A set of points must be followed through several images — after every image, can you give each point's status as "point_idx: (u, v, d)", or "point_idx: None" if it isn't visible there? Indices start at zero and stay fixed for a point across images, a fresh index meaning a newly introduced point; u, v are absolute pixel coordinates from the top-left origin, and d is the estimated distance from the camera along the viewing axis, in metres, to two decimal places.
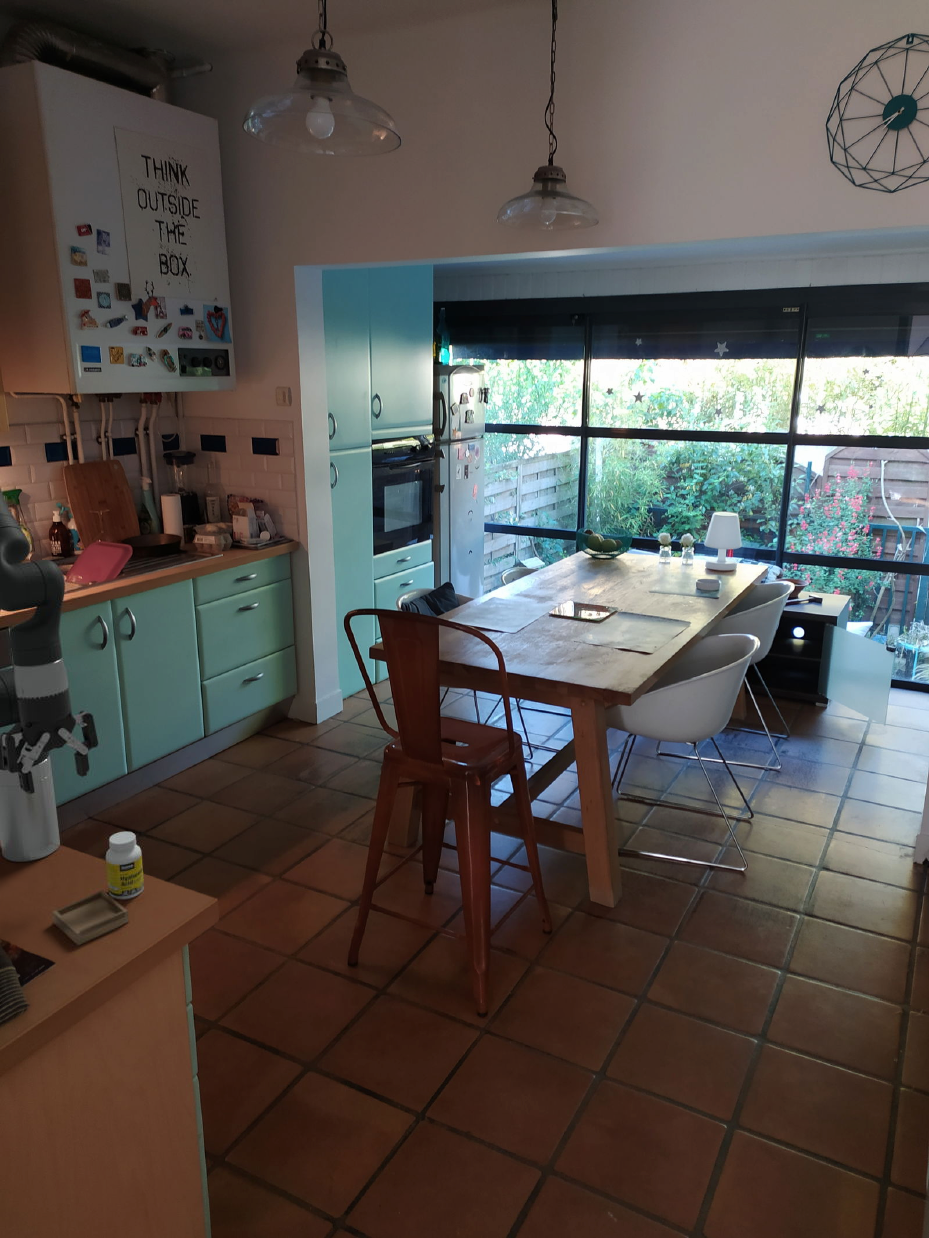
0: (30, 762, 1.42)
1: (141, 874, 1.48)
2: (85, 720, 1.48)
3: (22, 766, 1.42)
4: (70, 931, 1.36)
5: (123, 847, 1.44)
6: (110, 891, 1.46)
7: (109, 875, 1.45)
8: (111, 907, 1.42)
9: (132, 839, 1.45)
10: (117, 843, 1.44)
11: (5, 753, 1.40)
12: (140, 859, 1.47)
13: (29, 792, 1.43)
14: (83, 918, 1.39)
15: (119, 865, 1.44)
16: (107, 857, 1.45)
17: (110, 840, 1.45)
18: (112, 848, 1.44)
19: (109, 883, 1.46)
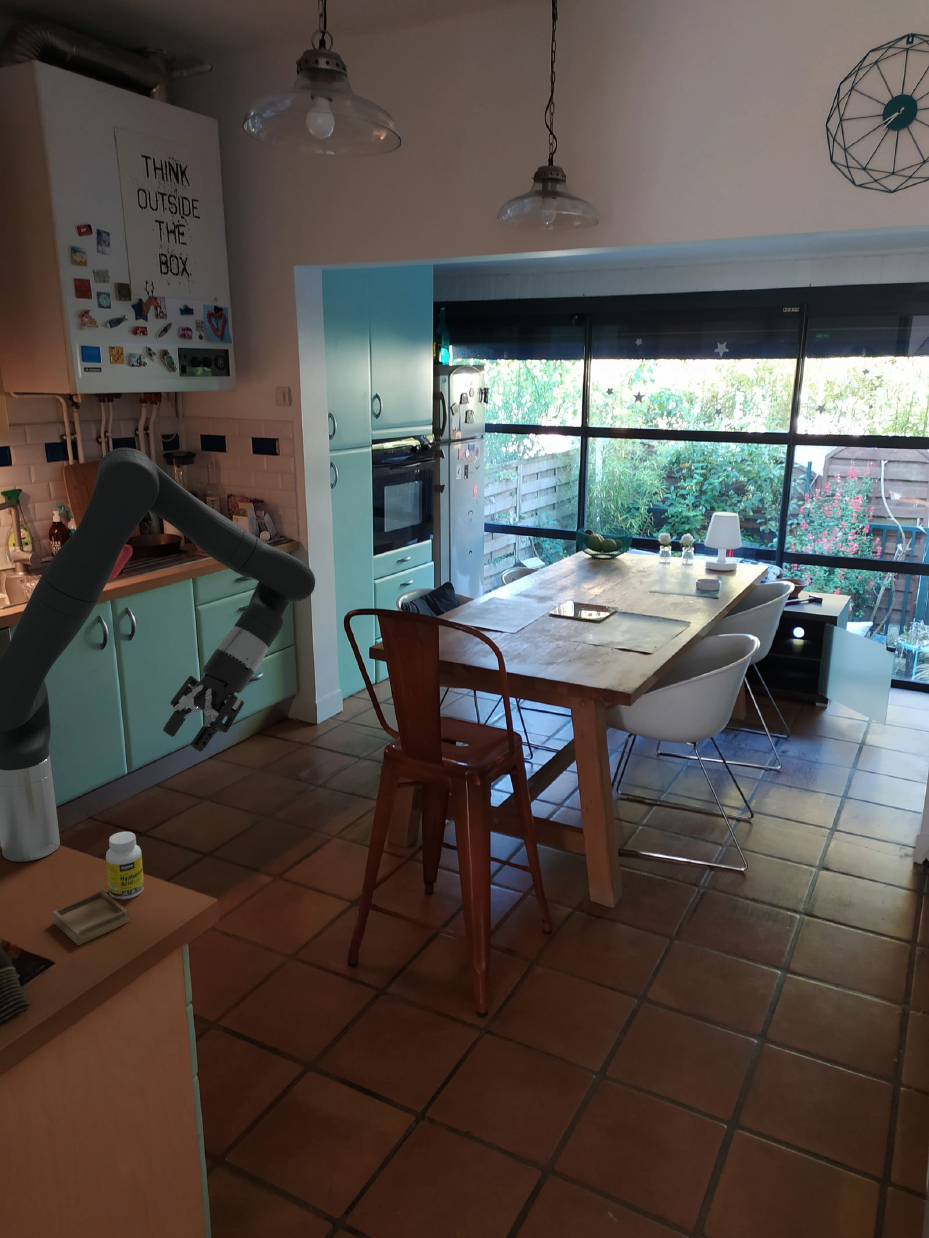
0: None
1: (141, 874, 1.48)
2: None
3: None
4: (70, 931, 1.36)
5: (123, 847, 1.44)
6: (110, 891, 1.46)
7: (109, 875, 1.45)
8: (111, 907, 1.42)
9: (132, 839, 1.45)
10: (117, 843, 1.44)
11: (232, 714, 1.48)
12: (140, 859, 1.47)
13: (200, 749, 1.48)
14: (83, 918, 1.39)
15: (119, 865, 1.44)
16: (107, 857, 1.45)
17: (110, 840, 1.45)
18: (112, 848, 1.44)
19: (109, 883, 1.46)
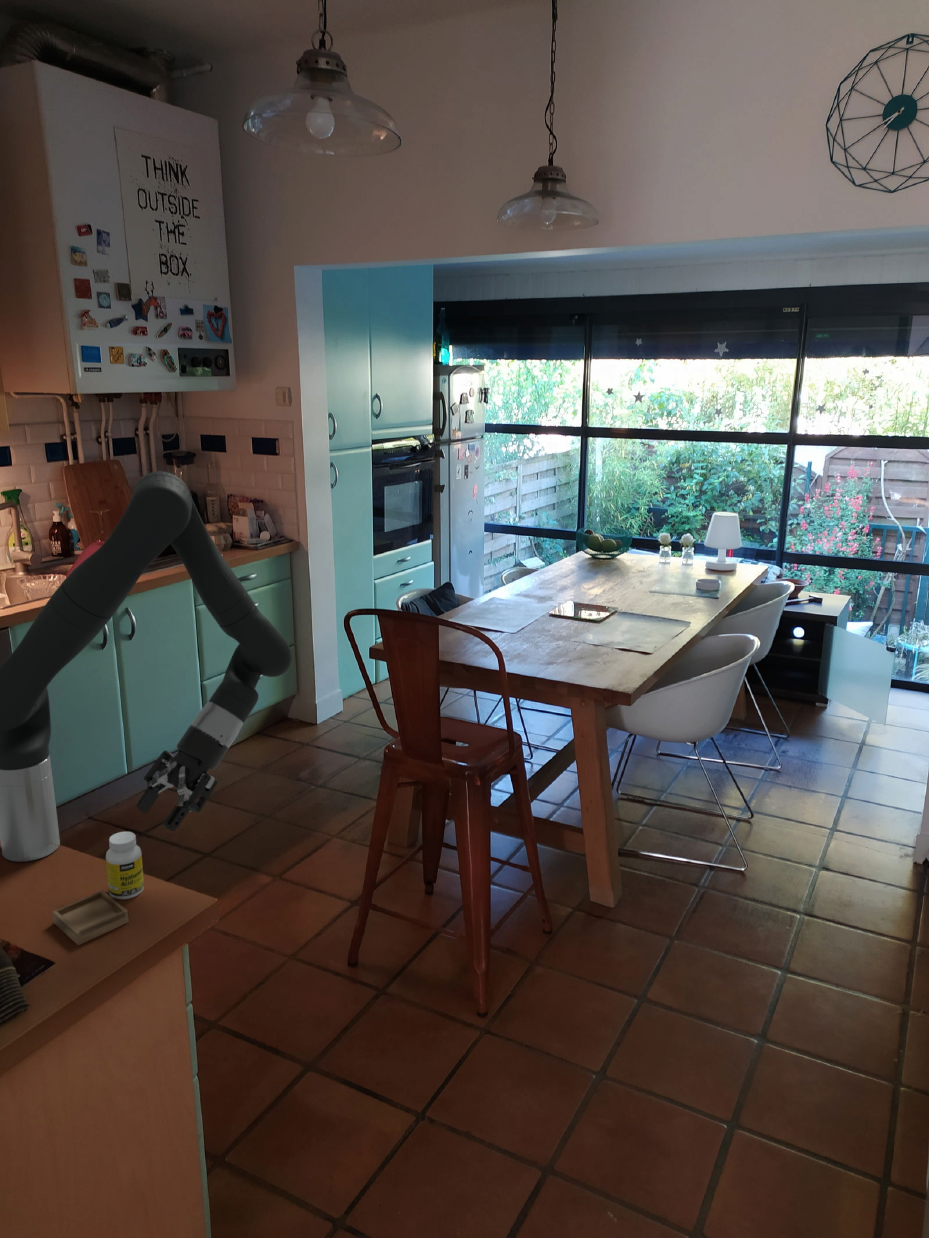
0: None
1: (141, 874, 1.48)
2: None
3: None
4: (70, 931, 1.36)
5: (123, 847, 1.44)
6: (110, 891, 1.46)
7: (109, 875, 1.45)
8: (111, 907, 1.42)
9: (132, 839, 1.45)
10: (117, 843, 1.44)
11: (205, 793, 1.48)
12: (140, 859, 1.47)
13: (173, 829, 1.47)
14: (83, 918, 1.39)
15: (119, 865, 1.44)
16: (107, 857, 1.45)
17: (110, 840, 1.45)
18: (112, 848, 1.44)
19: (109, 883, 1.46)
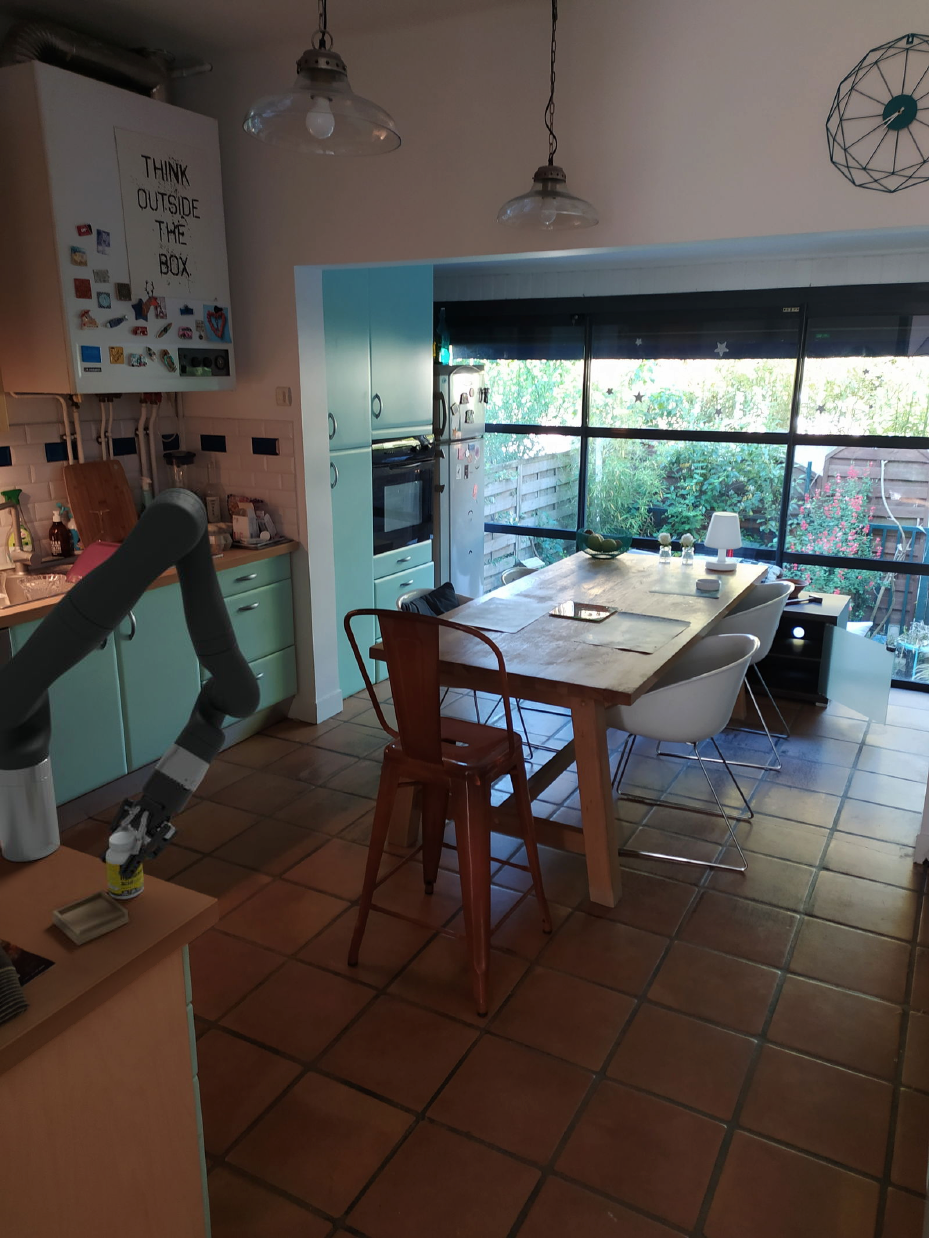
0: None
1: (141, 874, 1.48)
2: None
3: None
4: (70, 931, 1.36)
5: (123, 847, 1.44)
6: (110, 891, 1.46)
7: (109, 874, 1.45)
8: (111, 907, 1.42)
9: (132, 839, 1.45)
10: (117, 842, 1.44)
11: (162, 844, 1.44)
12: None
13: (128, 877, 1.44)
14: (83, 918, 1.39)
15: (119, 865, 1.44)
16: (107, 857, 1.45)
17: (110, 840, 1.45)
18: (112, 848, 1.44)
19: (109, 883, 1.46)
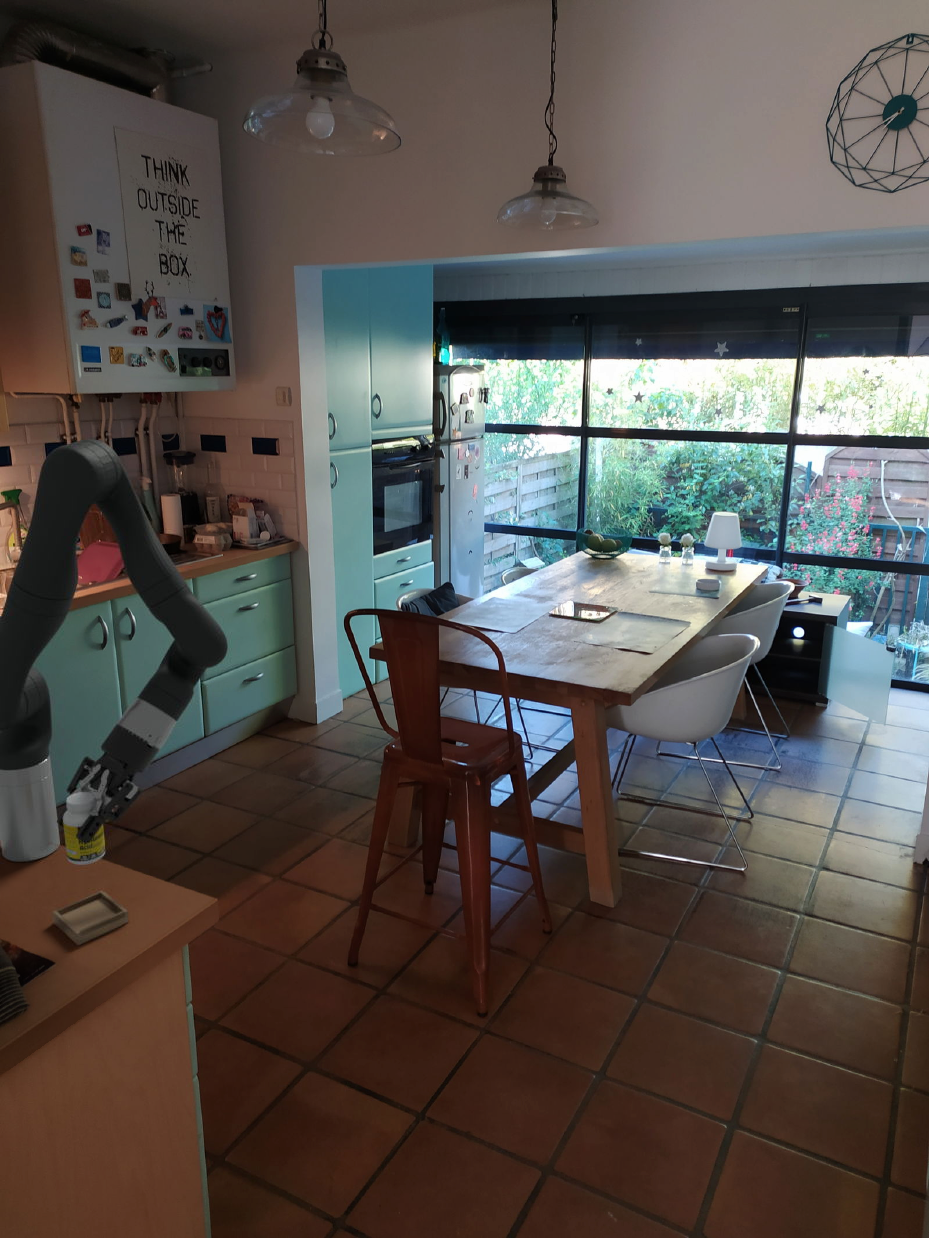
0: None
1: (102, 838, 1.36)
2: None
3: None
4: (70, 931, 1.36)
5: (82, 807, 1.33)
6: (68, 856, 1.35)
7: (66, 838, 1.34)
8: (111, 907, 1.42)
9: (91, 799, 1.34)
10: (75, 803, 1.33)
11: (124, 804, 1.33)
12: None
13: (87, 841, 1.33)
14: (83, 918, 1.39)
15: (76, 827, 1.33)
16: (64, 819, 1.34)
17: (67, 800, 1.34)
18: (69, 809, 1.33)
19: (67, 847, 1.35)
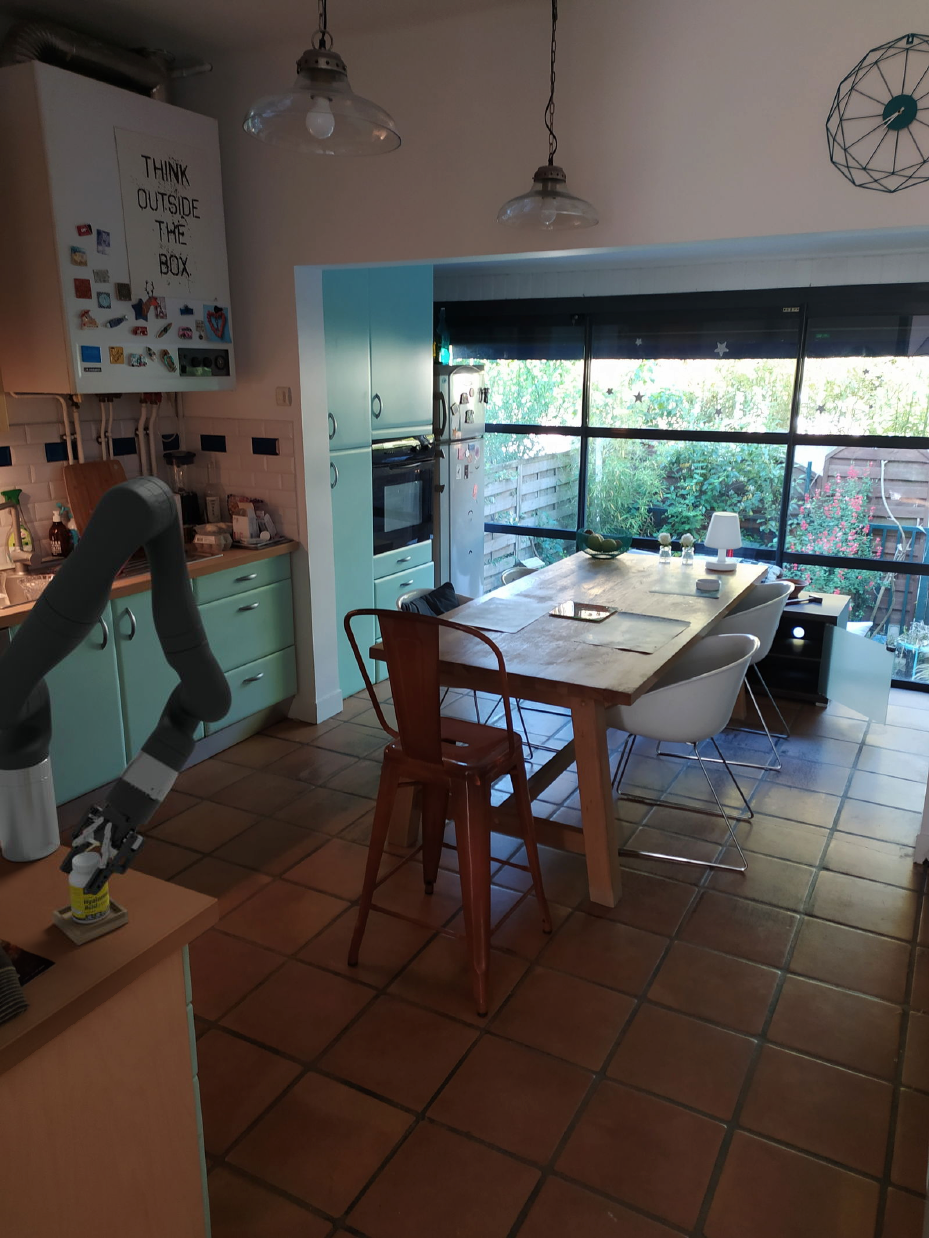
0: None
1: (106, 897, 1.39)
2: None
3: None
4: (70, 931, 1.36)
5: (87, 868, 1.36)
6: (73, 915, 1.38)
7: (72, 898, 1.37)
8: (111, 907, 1.42)
9: (97, 860, 1.37)
10: (81, 864, 1.36)
11: (131, 855, 1.35)
12: None
13: (95, 893, 1.35)
14: None
15: (82, 888, 1.36)
16: (70, 879, 1.37)
17: (73, 861, 1.37)
18: (75, 870, 1.36)
19: (72, 906, 1.38)
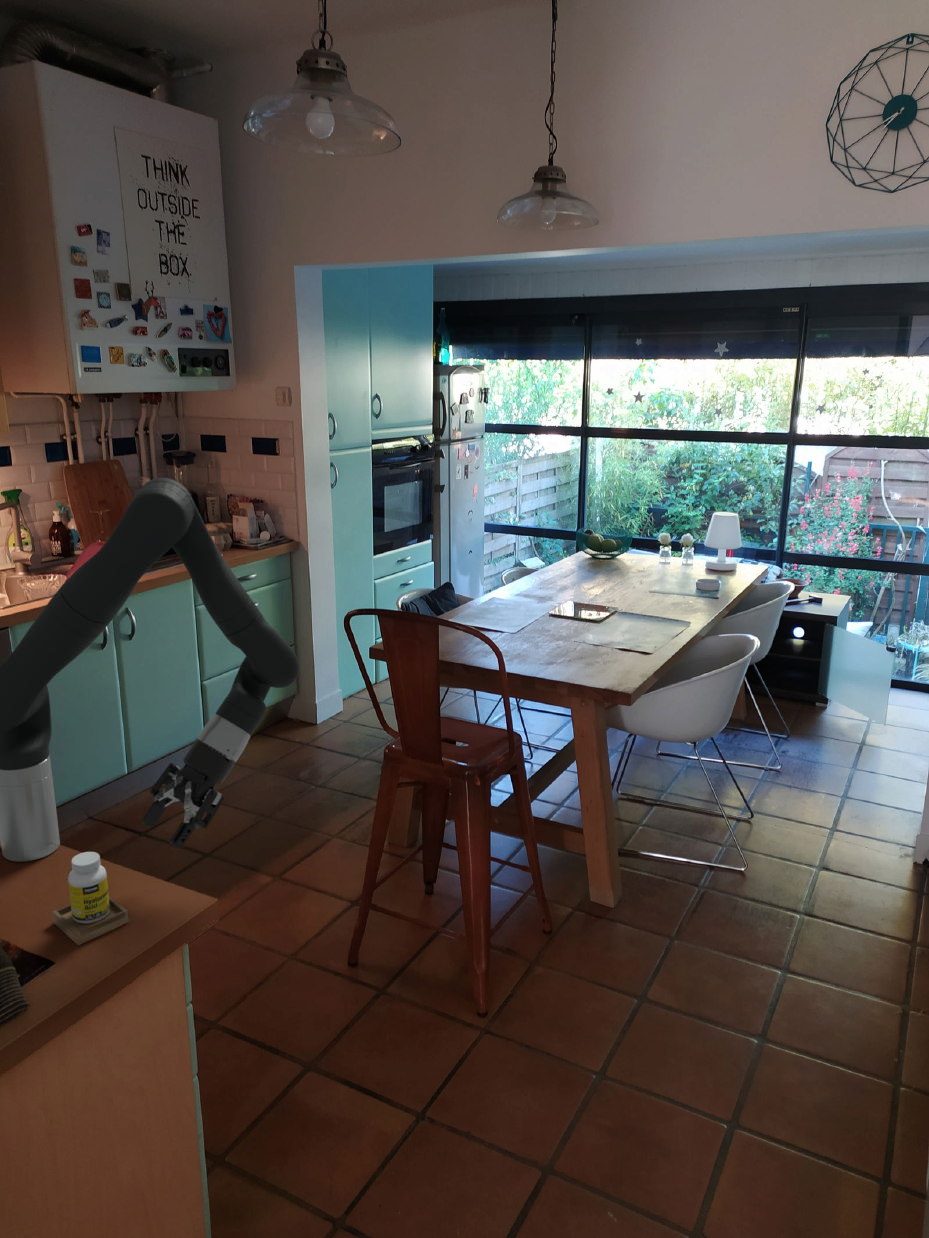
0: None
1: (106, 897, 1.39)
2: None
3: None
4: (70, 931, 1.36)
5: (86, 868, 1.36)
6: (73, 915, 1.38)
7: (71, 898, 1.37)
8: (111, 907, 1.42)
9: (96, 860, 1.37)
10: (80, 864, 1.36)
11: (212, 810, 1.45)
12: (105, 881, 1.39)
13: (179, 846, 1.45)
14: None
15: (82, 888, 1.36)
16: (69, 879, 1.37)
17: (72, 861, 1.37)
18: (74, 870, 1.36)
19: (72, 907, 1.38)
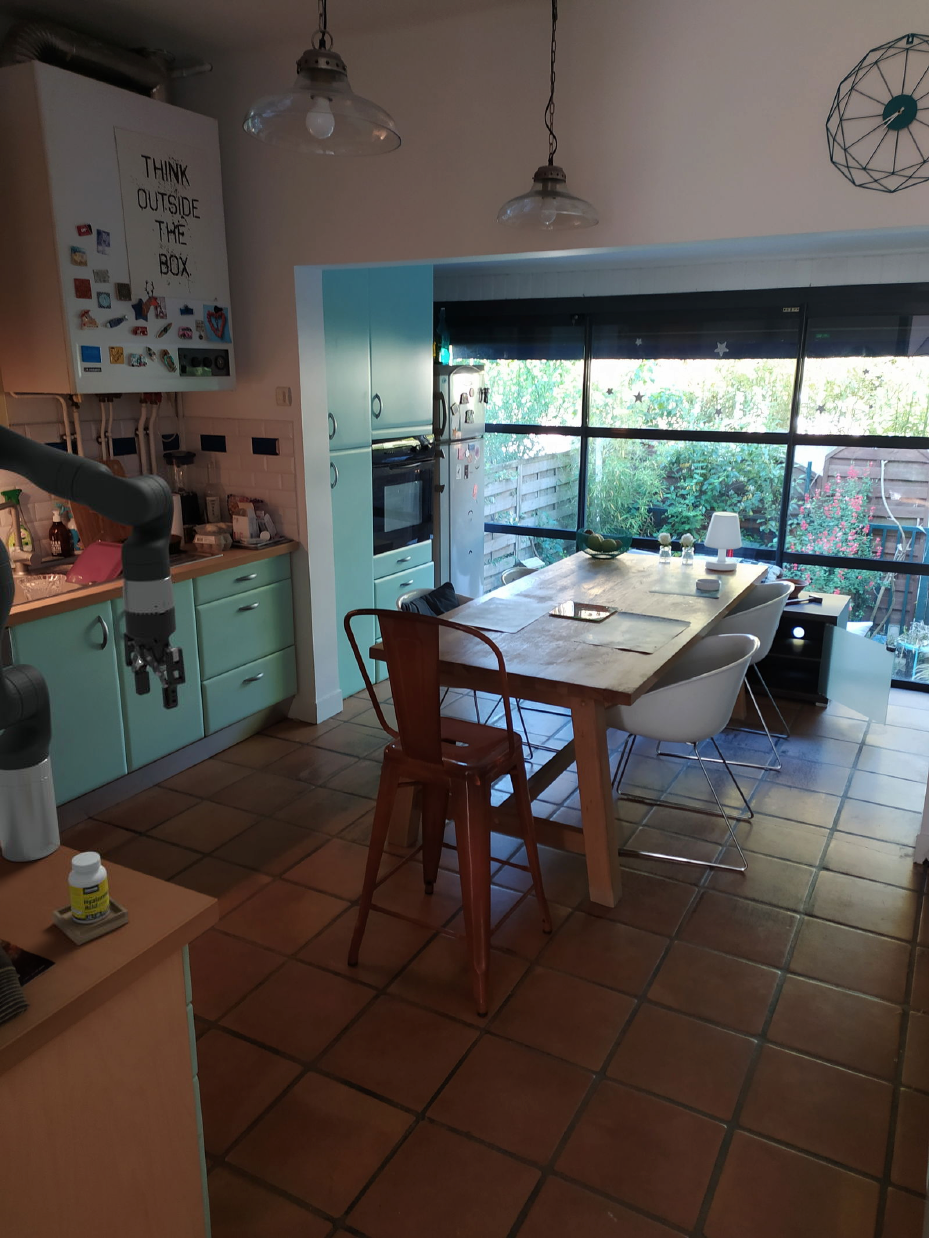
0: None
1: (106, 897, 1.39)
2: None
3: None
4: (70, 931, 1.36)
5: (87, 868, 1.36)
6: (73, 915, 1.38)
7: (72, 898, 1.37)
8: (111, 907, 1.42)
9: (96, 860, 1.37)
10: (80, 864, 1.36)
11: (178, 666, 1.41)
12: (105, 881, 1.39)
13: (176, 705, 1.45)
14: None
15: (82, 888, 1.36)
16: (69, 879, 1.37)
17: (73, 861, 1.36)
18: (75, 870, 1.36)
19: (72, 907, 1.38)
